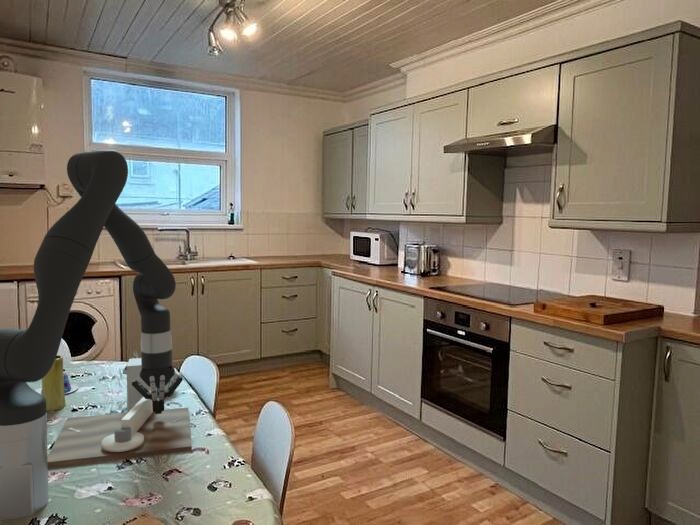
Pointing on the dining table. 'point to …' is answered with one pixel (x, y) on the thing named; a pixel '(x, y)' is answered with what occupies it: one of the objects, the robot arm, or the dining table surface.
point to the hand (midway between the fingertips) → (158, 412)
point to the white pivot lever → (129, 429)
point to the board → (88, 432)
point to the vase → (54, 386)
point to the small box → (132, 373)
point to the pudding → (66, 386)
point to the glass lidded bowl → (133, 358)
